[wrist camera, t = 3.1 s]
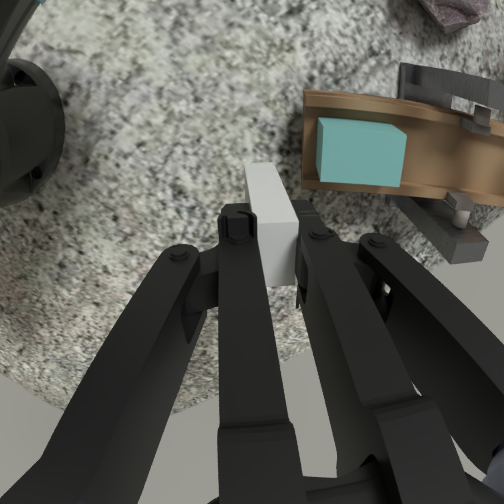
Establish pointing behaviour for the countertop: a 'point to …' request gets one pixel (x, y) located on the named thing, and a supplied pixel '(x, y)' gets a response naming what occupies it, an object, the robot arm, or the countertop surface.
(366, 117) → the beam
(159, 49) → the countertop surface
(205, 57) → the countertop surface
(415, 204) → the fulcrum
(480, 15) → the rock
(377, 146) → the block
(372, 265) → the robot arm
